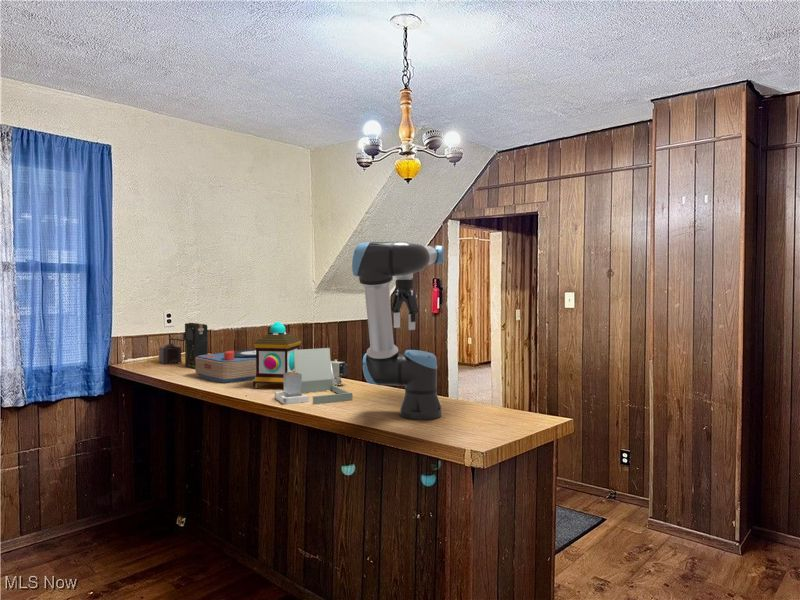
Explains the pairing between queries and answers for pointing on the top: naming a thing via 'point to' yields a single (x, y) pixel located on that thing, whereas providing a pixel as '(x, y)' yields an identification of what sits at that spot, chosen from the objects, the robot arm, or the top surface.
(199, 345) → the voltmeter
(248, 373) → the record player
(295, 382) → the block
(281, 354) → the decorative lantern
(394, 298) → the robot arm
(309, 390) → the case
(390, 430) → the top surface
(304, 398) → the dock
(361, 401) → the top surface
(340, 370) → the pneumatic valve
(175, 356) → the dark handled box
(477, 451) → the top surface
